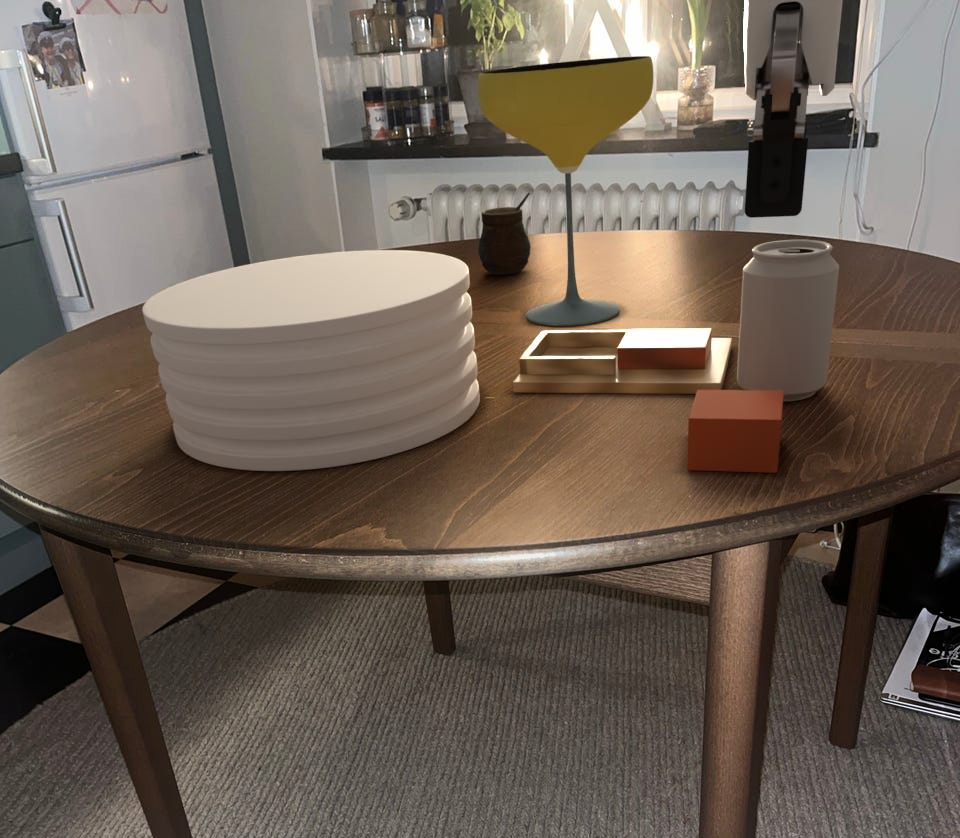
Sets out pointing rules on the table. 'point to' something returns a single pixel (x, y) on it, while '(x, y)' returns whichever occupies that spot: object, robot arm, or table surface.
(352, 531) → the table surface
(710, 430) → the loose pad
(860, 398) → the table surface
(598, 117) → the cocktail glass
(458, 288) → the plate stack
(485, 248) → the mate gourd
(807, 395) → the can
